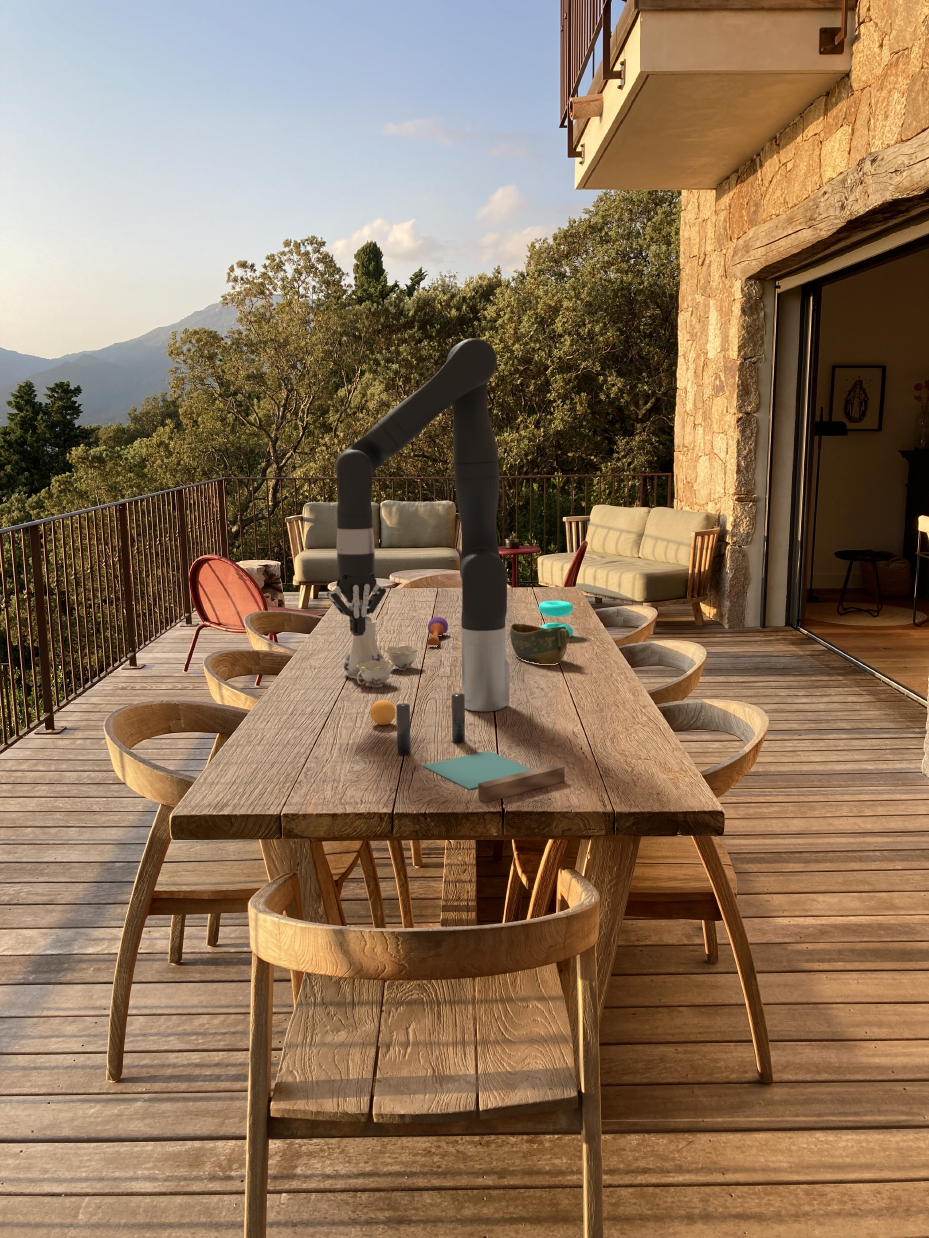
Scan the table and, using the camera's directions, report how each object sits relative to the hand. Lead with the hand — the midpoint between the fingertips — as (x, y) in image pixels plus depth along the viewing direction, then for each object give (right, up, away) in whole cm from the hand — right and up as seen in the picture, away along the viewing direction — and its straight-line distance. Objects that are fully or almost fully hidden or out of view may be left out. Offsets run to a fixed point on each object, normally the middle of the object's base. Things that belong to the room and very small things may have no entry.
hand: (358, 635), depth 192 cm
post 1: (+11, -21, -23) cm, 33 cm away
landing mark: (+24, -22, -32) cm, 46 cm away
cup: (+41, -8, +50) cm, 65 cm away
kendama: (+14, -3, +77) cm, 78 cm away
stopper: (+31, -24, -41) cm, 57 cm away
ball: (+5, -15, -5) cm, 17 cm away
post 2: (+21, -20, -16) cm, 33 cm away
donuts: (+48, -2, +82) cm, 95 cm away
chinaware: (0, -11, +36) cm, 38 cm away
